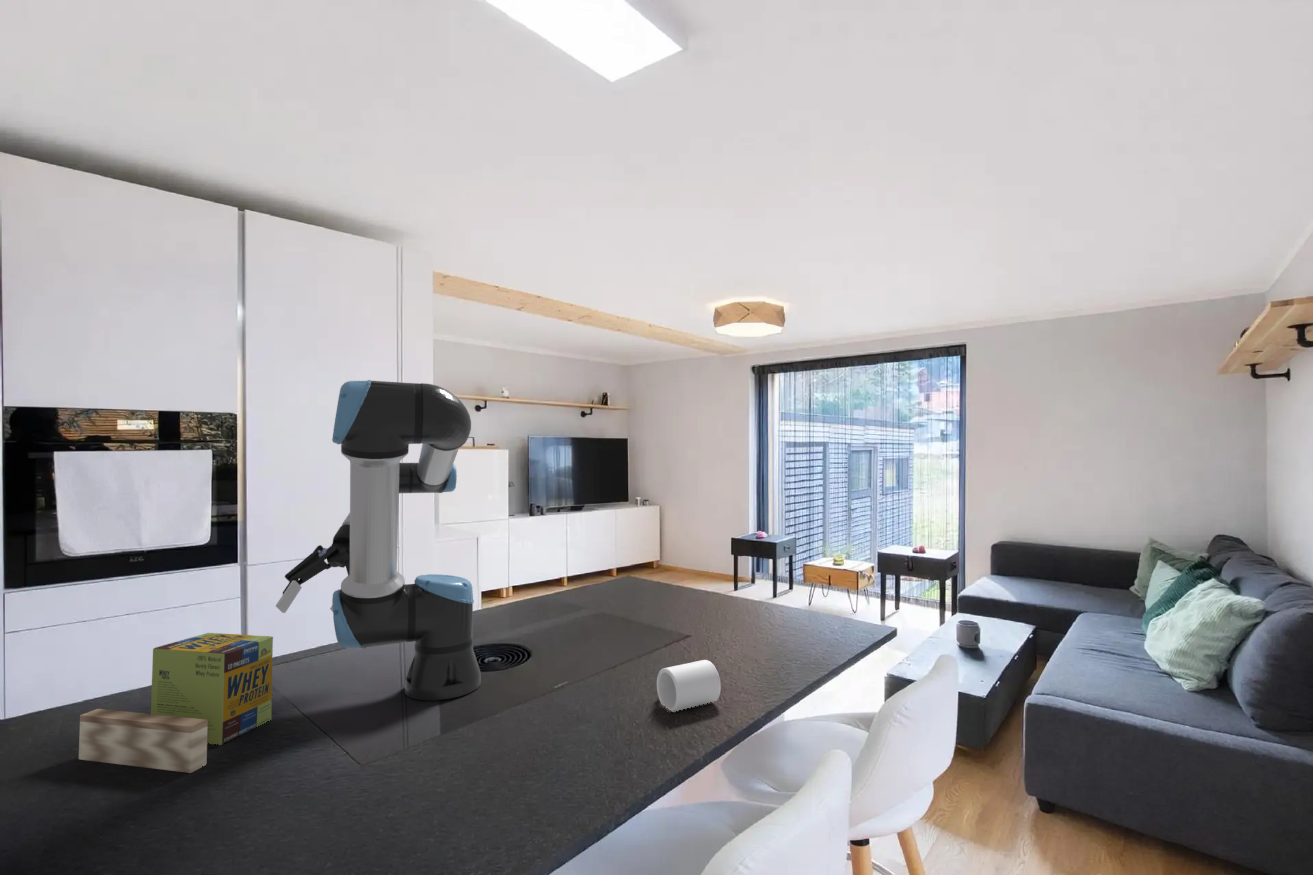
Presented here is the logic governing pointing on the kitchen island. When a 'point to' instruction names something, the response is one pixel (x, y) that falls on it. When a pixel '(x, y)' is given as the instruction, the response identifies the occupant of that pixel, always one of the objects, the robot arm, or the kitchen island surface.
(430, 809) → the kitchen island surface
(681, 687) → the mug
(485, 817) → the kitchen island surface
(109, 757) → the rail
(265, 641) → the protein box
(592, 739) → the kitchen island surface
